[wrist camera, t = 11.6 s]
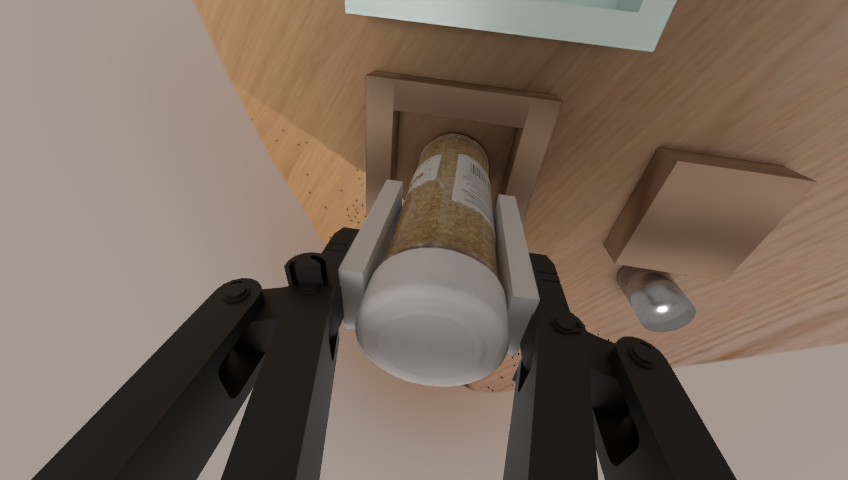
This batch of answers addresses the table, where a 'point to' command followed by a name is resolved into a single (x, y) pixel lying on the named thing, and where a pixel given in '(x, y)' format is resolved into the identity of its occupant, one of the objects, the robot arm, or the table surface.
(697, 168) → the square wooden coaster
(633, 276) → the bench dog
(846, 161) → the table surface
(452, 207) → the sprinkles bottle
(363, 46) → the table surface
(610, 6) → the tray
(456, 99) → the socket block
